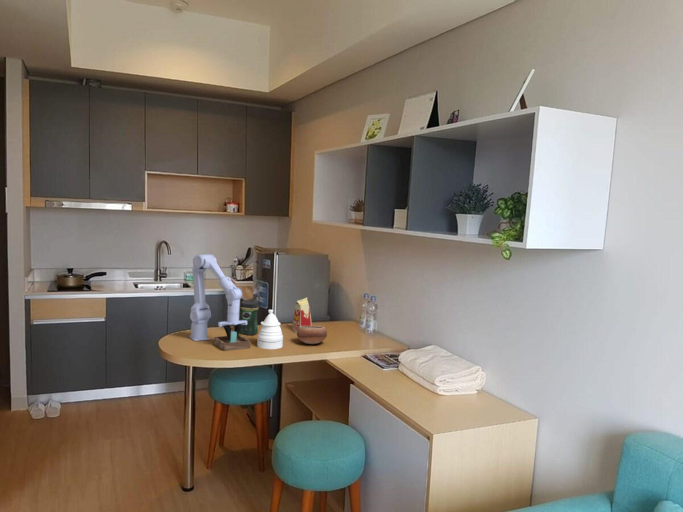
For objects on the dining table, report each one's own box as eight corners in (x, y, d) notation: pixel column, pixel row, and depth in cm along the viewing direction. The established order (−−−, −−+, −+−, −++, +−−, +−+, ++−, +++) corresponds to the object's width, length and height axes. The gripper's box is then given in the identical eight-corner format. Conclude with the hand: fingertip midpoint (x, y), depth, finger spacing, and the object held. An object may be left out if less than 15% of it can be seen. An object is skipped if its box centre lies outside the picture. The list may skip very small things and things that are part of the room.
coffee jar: (259, 333, 292) (261, 300, 291) (253, 336, 285) (255, 302, 283) (243, 331, 295) (245, 298, 293) (237, 334, 287) (238, 300, 286)
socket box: (213, 343, 264) (214, 337, 264) (239, 341, 272) (239, 334, 271) (223, 350, 253) (224, 343, 253) (250, 348, 260) (250, 341, 260)
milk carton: (304, 329, 308) (306, 295, 306) (312, 333, 300) (314, 298, 298) (290, 330, 303) (292, 296, 301) (297, 334, 295) (299, 299, 293)
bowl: (322, 340, 286) (323, 321, 285) (329, 347, 271) (330, 328, 270) (294, 340, 282) (295, 321, 281) (298, 347, 267) (300, 328, 266)
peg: (228, 344, 263) (228, 331, 262) (233, 344, 264) (234, 330, 264) (230, 346, 260) (231, 332, 259) (236, 346, 262) (236, 332, 261)
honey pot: (254, 343, 271) (256, 308, 269) (278, 342, 276) (280, 308, 274) (260, 349, 259) (262, 313, 257) (285, 348, 264) (287, 313, 262)
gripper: (222, 315, 254) (221, 343, 255) (250, 313, 262) (249, 340, 263) (217, 312, 259) (216, 339, 261) (244, 310, 267) (243, 337, 269)
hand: (232, 339), depth 262 cm, fingers closed on peg, 3 cm apart
